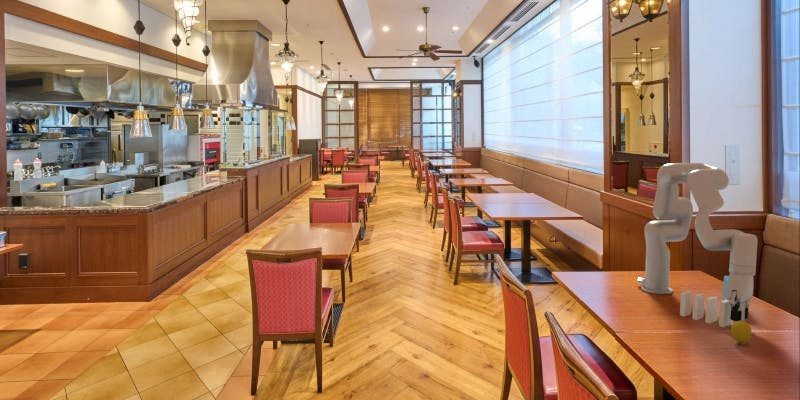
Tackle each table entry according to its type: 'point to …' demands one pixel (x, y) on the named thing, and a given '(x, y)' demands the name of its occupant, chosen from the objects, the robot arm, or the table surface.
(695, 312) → the tile
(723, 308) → the tile
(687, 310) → the tile
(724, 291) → the data package
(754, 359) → the table surface
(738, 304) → the tile
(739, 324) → the lemon
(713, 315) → the tile
